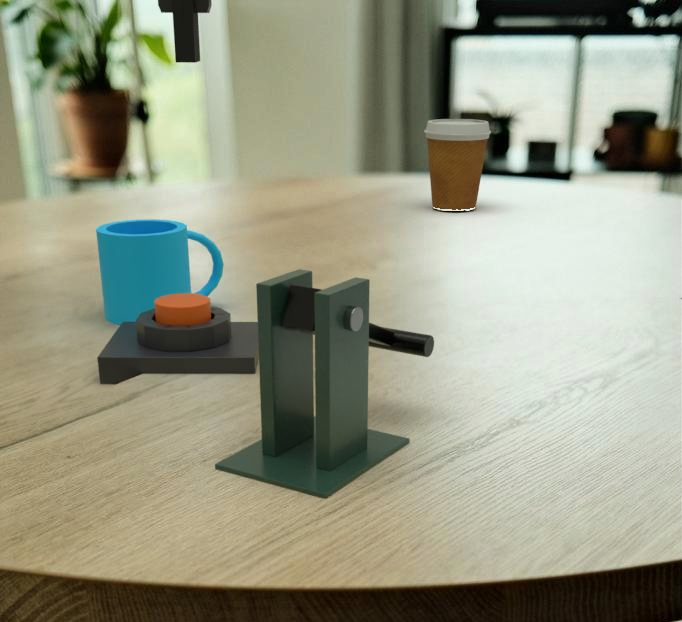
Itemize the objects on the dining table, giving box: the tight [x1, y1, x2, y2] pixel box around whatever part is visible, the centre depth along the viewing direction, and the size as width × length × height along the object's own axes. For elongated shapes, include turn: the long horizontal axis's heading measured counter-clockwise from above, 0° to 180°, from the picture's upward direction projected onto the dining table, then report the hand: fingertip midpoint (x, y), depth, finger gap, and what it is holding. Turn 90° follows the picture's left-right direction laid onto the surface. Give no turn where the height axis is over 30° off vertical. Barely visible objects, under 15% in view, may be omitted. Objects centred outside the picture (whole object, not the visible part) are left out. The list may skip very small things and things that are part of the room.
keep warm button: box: [154, 292, 212, 325], centre depth 81 cm, size 4×4×2 cm
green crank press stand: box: [214, 268, 410, 499], centre depth 61 cm, size 10×8×12 cm
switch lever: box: [282, 285, 435, 358], centre depth 64 cm, size 12×6×2 cm, turn 148°
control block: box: [96, 306, 259, 385], centre depth 82 cm, size 12×10×4 cm
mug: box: [95, 218, 224, 326], centre depth 95 cm, size 12×8×8 cm
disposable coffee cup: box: [423, 118, 492, 210], centre depth 147 cm, size 10×10×12 cm
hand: (188, 61), depth 78 cm, fingers closed
